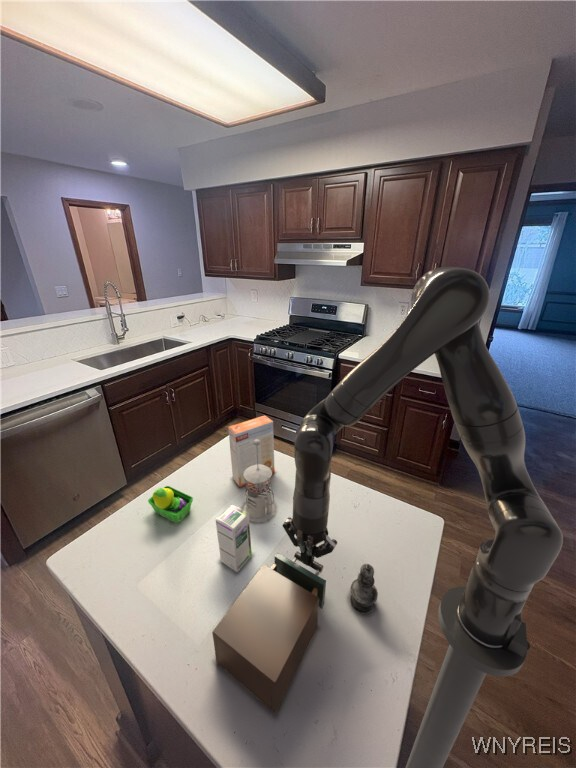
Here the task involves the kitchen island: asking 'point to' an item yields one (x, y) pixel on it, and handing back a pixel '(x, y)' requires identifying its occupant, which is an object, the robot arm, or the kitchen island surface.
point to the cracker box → (251, 446)
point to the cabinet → (266, 635)
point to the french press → (258, 492)
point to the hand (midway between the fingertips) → (307, 561)
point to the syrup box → (234, 537)
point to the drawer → (302, 575)
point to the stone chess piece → (364, 590)
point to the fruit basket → (171, 503)
